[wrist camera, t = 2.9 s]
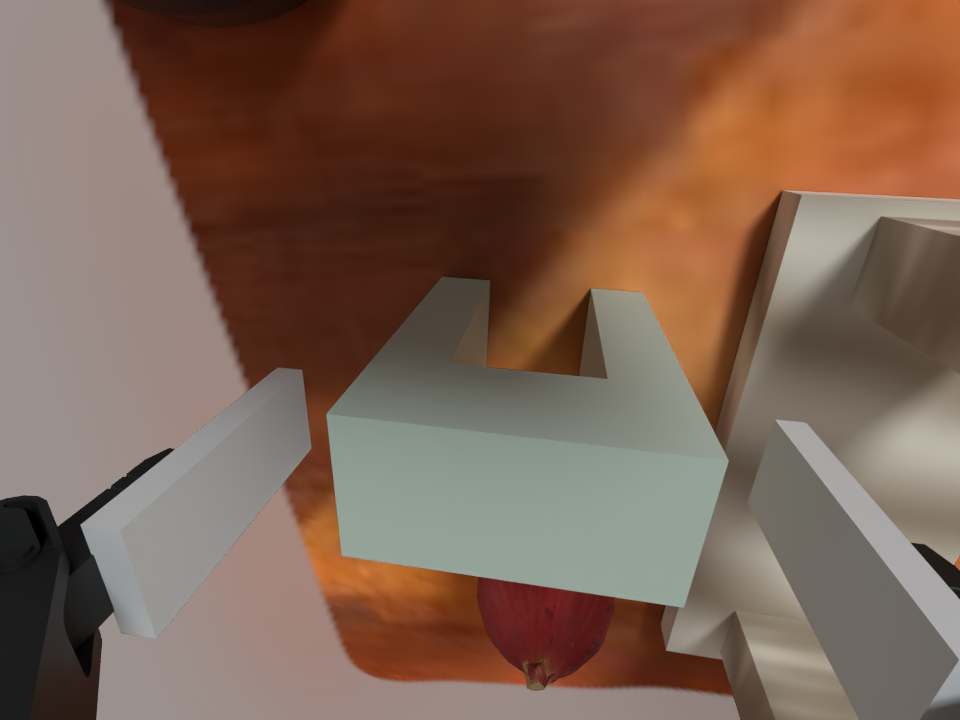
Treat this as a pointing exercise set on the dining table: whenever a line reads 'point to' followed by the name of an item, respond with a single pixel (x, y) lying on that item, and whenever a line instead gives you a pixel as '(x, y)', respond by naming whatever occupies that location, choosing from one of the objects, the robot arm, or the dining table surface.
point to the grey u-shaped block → (528, 455)
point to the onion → (543, 627)
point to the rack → (831, 424)
